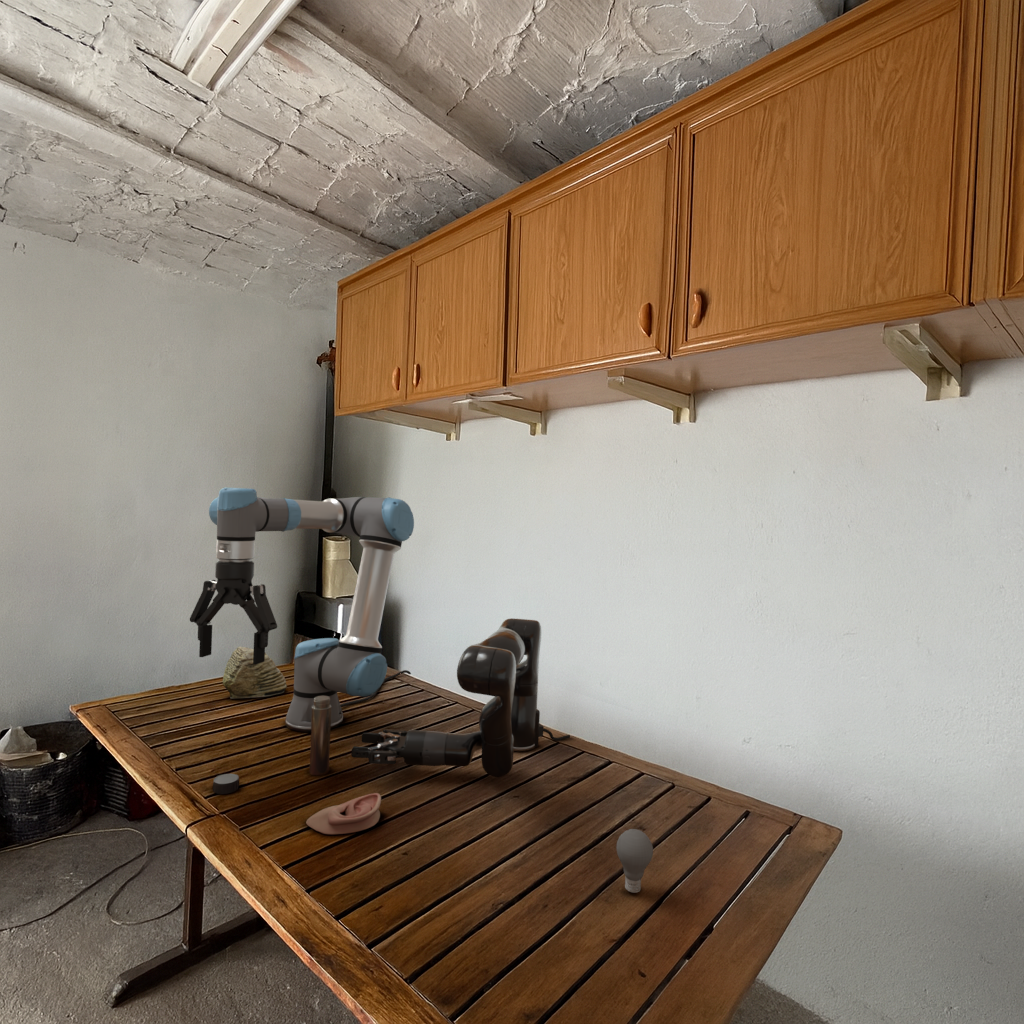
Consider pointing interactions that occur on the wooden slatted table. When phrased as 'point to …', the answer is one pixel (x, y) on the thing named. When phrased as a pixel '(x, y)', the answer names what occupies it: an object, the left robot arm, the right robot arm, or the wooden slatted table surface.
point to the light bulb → (634, 857)
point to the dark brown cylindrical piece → (320, 736)
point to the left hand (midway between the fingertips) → (231, 659)
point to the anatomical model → (347, 816)
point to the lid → (226, 783)
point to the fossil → (252, 676)
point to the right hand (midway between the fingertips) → (357, 744)
